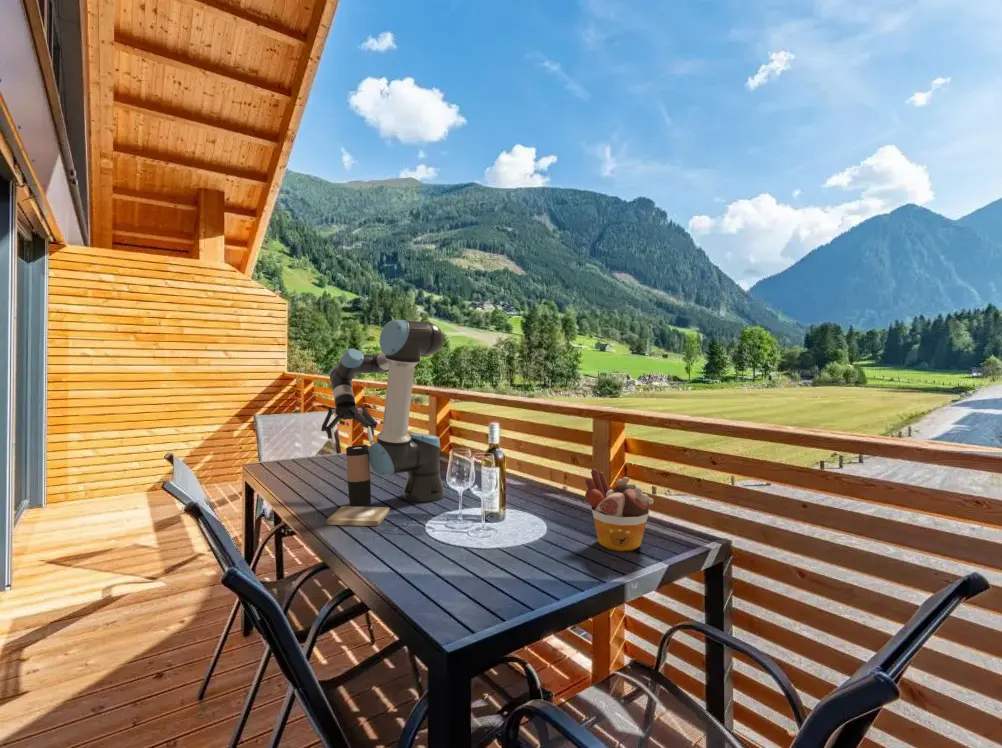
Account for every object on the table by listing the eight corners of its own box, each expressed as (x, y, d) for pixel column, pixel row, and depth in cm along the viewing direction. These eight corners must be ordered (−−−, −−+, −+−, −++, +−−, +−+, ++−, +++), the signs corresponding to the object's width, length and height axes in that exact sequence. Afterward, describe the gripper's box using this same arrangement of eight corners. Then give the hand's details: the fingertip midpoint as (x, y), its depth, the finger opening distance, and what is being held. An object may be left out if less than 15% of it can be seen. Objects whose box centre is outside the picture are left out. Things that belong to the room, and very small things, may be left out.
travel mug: (344, 506, 176) (340, 448, 175) (359, 500, 182) (356, 444, 182) (360, 508, 172) (357, 449, 172) (376, 502, 179) (373, 445, 178)
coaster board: (389, 511, 170) (389, 506, 170) (378, 525, 156) (378, 520, 156) (342, 510, 170) (342, 505, 170) (326, 524, 156) (326, 519, 156)
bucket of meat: (664, 547, 141) (666, 476, 141) (629, 562, 131) (631, 486, 130) (606, 528, 157) (608, 464, 156) (571, 540, 146) (572, 471, 145)
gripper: (374, 404, 207) (384, 446, 194) (309, 406, 195) (316, 452, 182) (377, 392, 202) (388, 435, 190) (311, 393, 190) (318, 439, 177)
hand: (353, 443), depth 186 cm, fingers open, 13 cm apart
